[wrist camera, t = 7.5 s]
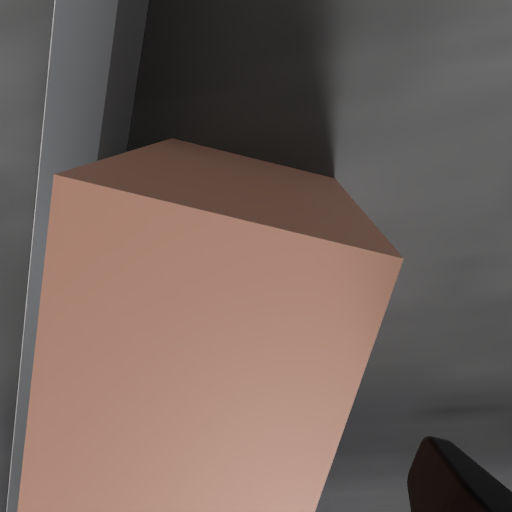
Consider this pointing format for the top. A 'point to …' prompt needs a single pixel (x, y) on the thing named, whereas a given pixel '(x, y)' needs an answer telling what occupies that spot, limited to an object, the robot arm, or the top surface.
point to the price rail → (76, 139)
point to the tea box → (198, 334)
